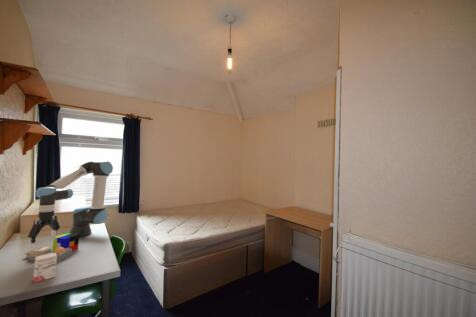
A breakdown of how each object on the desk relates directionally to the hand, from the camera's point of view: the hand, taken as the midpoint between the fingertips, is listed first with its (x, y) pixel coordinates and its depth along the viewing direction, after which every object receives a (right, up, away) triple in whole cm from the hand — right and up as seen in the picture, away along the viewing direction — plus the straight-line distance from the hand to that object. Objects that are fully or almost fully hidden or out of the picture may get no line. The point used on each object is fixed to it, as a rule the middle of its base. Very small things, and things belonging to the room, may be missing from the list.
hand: (44, 243), depth 134 cm
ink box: (+22, -9, -23) cm, 33 cm away
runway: (+4, -10, 0) cm, 11 cm away
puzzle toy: (+5, -9, +11) cm, 15 cm away
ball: (+10, -6, 0) cm, 12 cm away
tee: (-8, -8, 0) cm, 12 cm away
